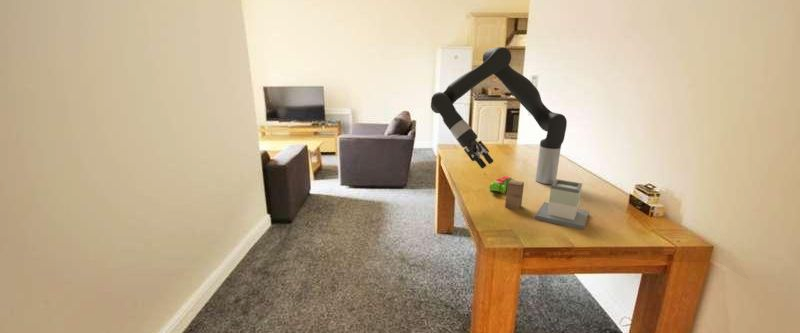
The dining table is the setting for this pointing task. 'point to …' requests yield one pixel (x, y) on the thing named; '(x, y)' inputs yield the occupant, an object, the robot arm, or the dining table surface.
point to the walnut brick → (514, 194)
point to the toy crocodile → (500, 184)
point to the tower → (564, 205)
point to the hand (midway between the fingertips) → (488, 165)
